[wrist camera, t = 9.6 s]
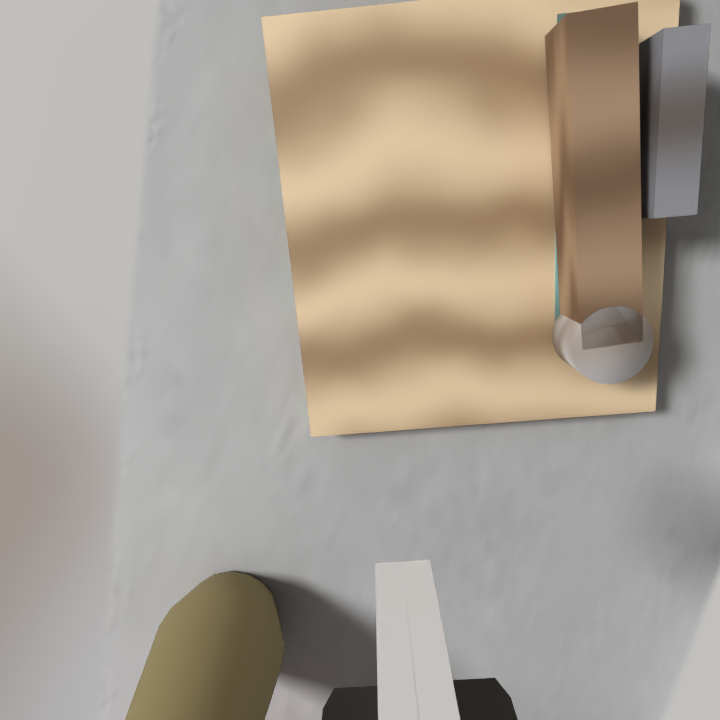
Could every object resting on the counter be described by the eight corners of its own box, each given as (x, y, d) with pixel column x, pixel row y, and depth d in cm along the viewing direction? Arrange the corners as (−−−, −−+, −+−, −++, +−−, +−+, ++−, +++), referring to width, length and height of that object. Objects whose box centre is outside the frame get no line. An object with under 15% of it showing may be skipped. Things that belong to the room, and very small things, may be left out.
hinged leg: (626, 362, 30) (653, 378, 27) (554, 372, 30) (573, 389, 27) (618, 23, 26) (649, -1, 23) (534, 37, 26) (555, 15, 23)
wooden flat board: (638, 399, 33) (685, 431, 28) (314, 424, 34) (305, 459, 29) (659, -10, 27) (721, -59, 22) (268, 30, 28) (248, -8, 23)
